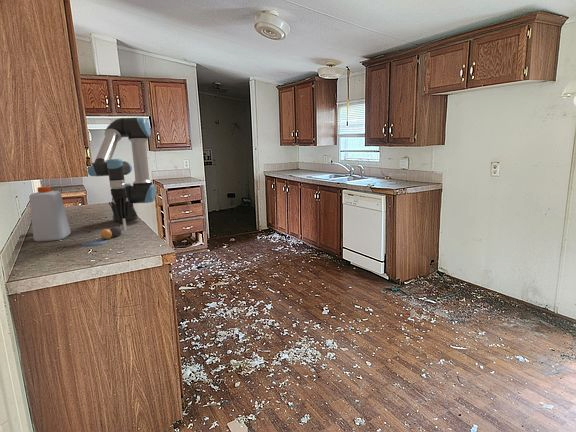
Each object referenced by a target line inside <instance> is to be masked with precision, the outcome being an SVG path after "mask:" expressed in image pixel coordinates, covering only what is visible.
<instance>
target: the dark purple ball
mask: <svg viewBox="0 0 576 432" xmlns="http://www.w3.org/2000/svg"><path fill="white" fill-rule="evenodd" d="M109 230H110V231H111V232H112V236H111V237H119V236H120V235H121V233H122V230H121V227H119V226H117V225H115V226H112V227H111V228H110V229H109Z"/></svg>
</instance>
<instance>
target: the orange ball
mask: <svg viewBox="0 0 576 432" xmlns="http://www.w3.org/2000/svg"><path fill="white" fill-rule="evenodd" d="M100 237H101V239H106V240H110V239H111V238H112V237H113V236H112V232H111V231H110V229H109V228H104V229H102V230H101V231H100Z"/></svg>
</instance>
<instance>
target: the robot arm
mask: <svg viewBox="0 0 576 432" xmlns="http://www.w3.org/2000/svg"><path fill="white" fill-rule="evenodd" d="M151 133H152V132H151V126H150V124H149V121H148V120H147V119H146V118H145V117H121V118H120V117H119V118H116V119H115V120H114V121H112V122H111V123H110V124H108V126H107V127H106V129H105V130H104V138H103V141H102V143H101V146H100V147H99V150H98V152H97V155H96V158H95V160H94V162H91V163H92V166H91V167H88V168H87V167H86V170H87V169H88V172H87V174H88V175H89V176H90V177H107V176H108V180H109V182H108V183H109V188H110V195H111V196H112V197H111V201H110V202H108V205H109V206H110V208H111V210H112V217H111V218H112V222H113V223H114V222H115V223H118V224H119V226H120V227H119V228H120V229H121V231H127V222H131V221H135V220H137V219H139V217H138V214H137V211H136V209H135V207H134V204H149V203H153V202H154V201H155V199H156V195H157V187H156V185H155V184H154V183H153V181H152V180H151V179H150V172H149V170H150V169H149V162H148V161H149V160H148V159H149V158H148V151H147V141H148V140H149V137H151V135H152V134H151ZM122 138H128V140H129V142H131V152H132V162H133V166H132V164H131V163H130V162H128V161H125V160H124V161H123V160H122V159H121V158H113V156H114V154H115V150H116V148H117V146H118V142H120V141H121V139H122ZM132 170H133V172H134V181H133V182H132V185H131V183H126V180H125V176H127V175H129V174H131V172H132Z"/></svg>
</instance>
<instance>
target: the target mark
mask: <svg viewBox="0 0 576 432" xmlns="http://www.w3.org/2000/svg"><path fill="white" fill-rule="evenodd" d="M108 242H109V239H103V238H98V239H93V240H92V239H91V240H88V241H85V242H82V243H81V246H82V247H95V246H101V245H103V244H106V243H108Z"/></svg>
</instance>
